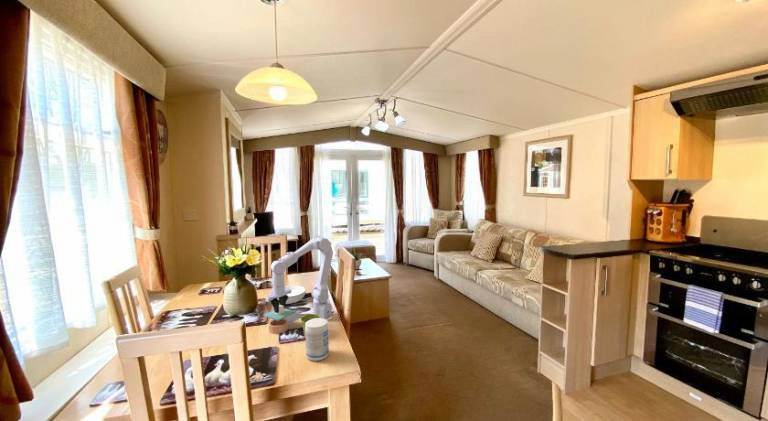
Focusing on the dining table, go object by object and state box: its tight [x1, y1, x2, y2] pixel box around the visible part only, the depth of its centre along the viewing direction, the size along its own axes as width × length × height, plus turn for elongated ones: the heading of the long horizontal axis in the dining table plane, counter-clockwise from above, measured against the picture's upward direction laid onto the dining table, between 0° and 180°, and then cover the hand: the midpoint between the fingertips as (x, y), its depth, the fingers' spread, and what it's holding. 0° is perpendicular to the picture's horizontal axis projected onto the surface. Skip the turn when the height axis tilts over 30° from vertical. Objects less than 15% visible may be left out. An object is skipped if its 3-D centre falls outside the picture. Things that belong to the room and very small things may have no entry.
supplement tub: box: [304, 318, 330, 362], centre depth 136 cm, size 10×10×15 cm
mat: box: [270, 311, 306, 325], centre depth 175 cm, size 13×13×1 cm
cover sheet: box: [263, 304, 296, 321], centre depth 162 cm, size 11×11×4 cm
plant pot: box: [299, 313, 320, 338], centre depth 154 cm, size 9×9×9 cm
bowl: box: [268, 319, 289, 335], centre depth 160 cm, size 9×9×4 cm
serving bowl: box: [269, 285, 307, 305], centre depth 198 cm, size 21×21×7 cm
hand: (279, 311), depth 162 cm, fingers closed on cover sheet, 3 cm apart
